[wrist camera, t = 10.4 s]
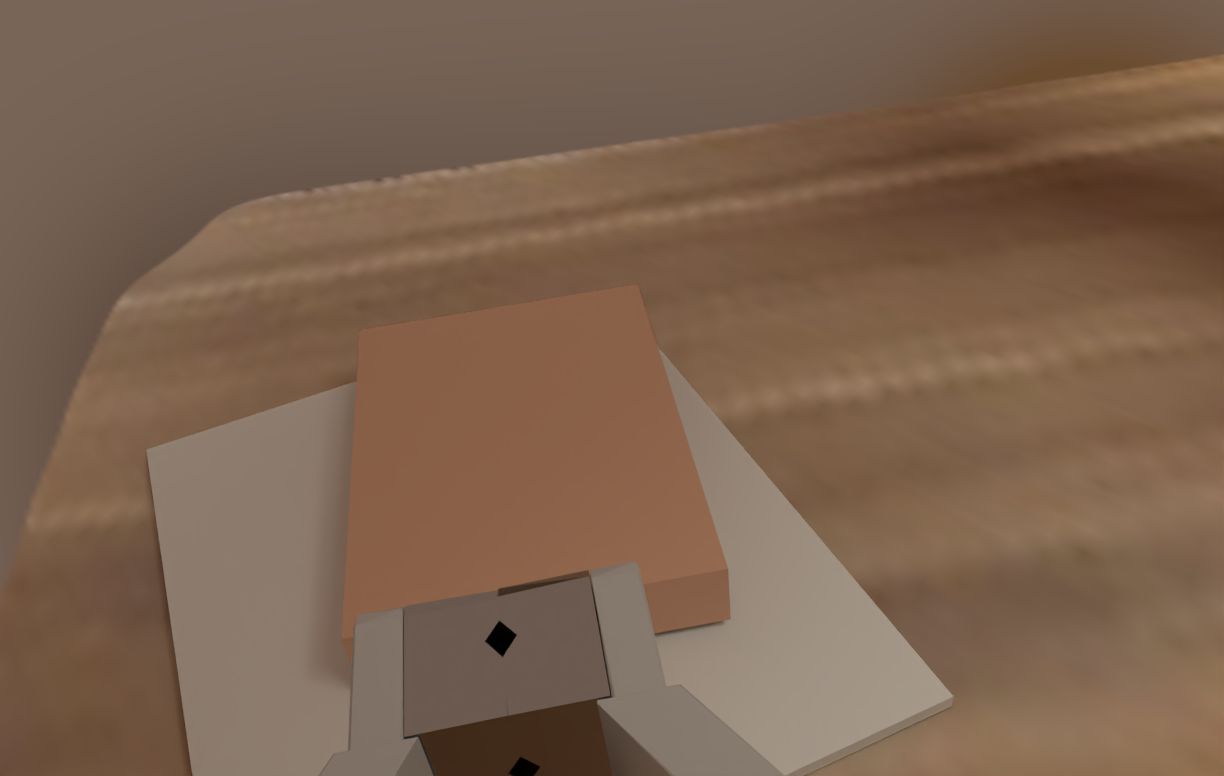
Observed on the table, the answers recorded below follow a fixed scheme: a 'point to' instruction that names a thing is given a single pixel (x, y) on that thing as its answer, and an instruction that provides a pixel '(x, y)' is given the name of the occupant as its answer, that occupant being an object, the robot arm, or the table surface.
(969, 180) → the table surface
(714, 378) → the table surface
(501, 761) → the robot arm
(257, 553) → the mat
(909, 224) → the table surface
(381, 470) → the tile
